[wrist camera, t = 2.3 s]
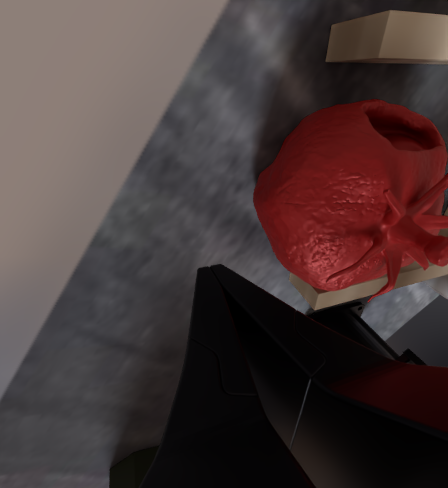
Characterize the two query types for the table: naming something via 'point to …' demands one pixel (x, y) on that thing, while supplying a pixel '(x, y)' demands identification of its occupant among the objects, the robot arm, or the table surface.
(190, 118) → the table surface
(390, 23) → the frame
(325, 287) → the pomegranate
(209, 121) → the table surface
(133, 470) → the wine bottle
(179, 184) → the table surface
